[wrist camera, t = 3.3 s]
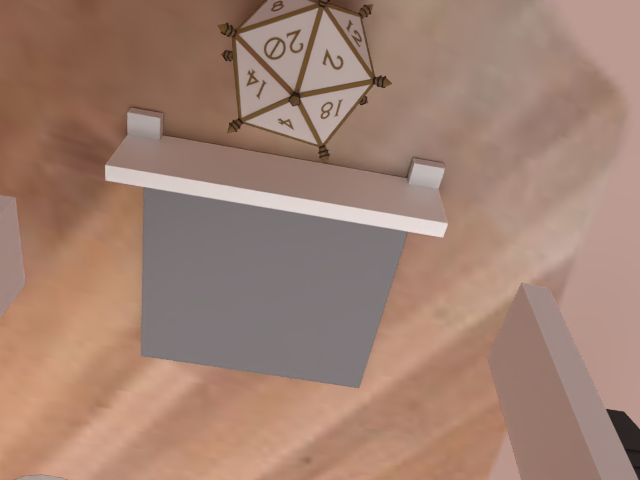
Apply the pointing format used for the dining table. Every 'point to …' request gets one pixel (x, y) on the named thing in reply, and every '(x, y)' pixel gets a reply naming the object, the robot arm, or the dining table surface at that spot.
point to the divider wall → (277, 179)
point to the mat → (262, 287)
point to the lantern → (40, 477)
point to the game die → (300, 68)
